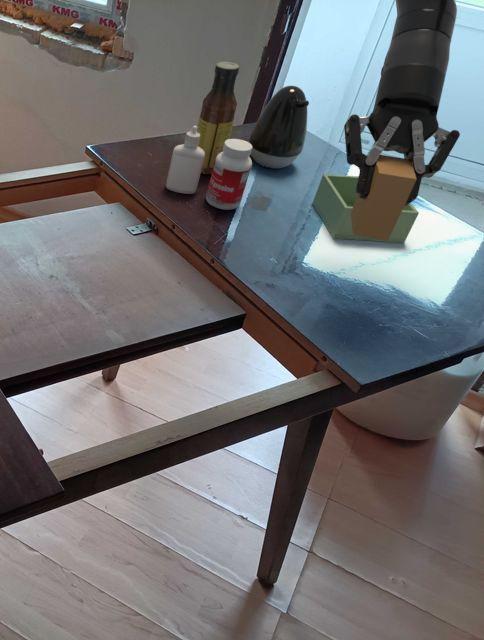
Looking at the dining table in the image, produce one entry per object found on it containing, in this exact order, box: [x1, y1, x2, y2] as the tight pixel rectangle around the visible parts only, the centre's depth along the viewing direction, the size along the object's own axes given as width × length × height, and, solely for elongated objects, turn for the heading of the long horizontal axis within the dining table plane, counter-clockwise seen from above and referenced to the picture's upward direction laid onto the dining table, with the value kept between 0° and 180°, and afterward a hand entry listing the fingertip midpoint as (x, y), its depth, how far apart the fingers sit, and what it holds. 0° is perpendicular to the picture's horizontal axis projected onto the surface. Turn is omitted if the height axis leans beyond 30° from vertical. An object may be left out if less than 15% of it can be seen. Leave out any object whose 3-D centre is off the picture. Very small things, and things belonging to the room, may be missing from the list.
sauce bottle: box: [197, 61, 240, 174], centre depth 127 cm, size 7×6×20 cm
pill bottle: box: [205, 138, 253, 211], centre depth 120 cm, size 6×6×11 cm
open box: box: [312, 173, 420, 244], centre depth 119 cm, size 12×12×6 cm
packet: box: [350, 154, 417, 241], centre depth 91 cm, size 4×6×9 cm
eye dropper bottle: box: [165, 125, 205, 195], centre depth 123 cm, size 4×6×12 cm
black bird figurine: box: [248, 85, 310, 169], centre depth 132 cm, size 10×10×15 cm
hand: (384, 199), depth 89 cm, fingers closed on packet, 4 cm apart
